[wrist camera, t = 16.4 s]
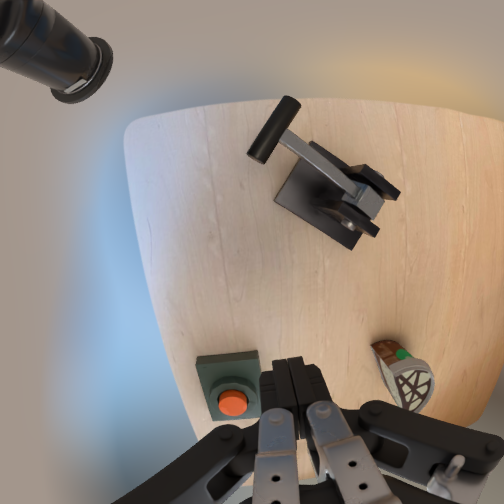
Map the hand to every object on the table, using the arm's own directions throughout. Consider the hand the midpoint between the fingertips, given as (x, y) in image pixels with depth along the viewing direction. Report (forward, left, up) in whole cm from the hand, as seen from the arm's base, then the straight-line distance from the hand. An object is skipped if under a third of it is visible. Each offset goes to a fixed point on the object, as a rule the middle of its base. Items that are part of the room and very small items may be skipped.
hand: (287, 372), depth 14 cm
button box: (+2, -21, -25) cm, 32 cm away
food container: (+26, -10, -25) cm, 37 cm away
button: (+2, -21, -21) cm, 30 cm away
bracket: (+6, +10, -25) cm, 28 cm away
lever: (+1, +11, -13) cm, 17 cm away
